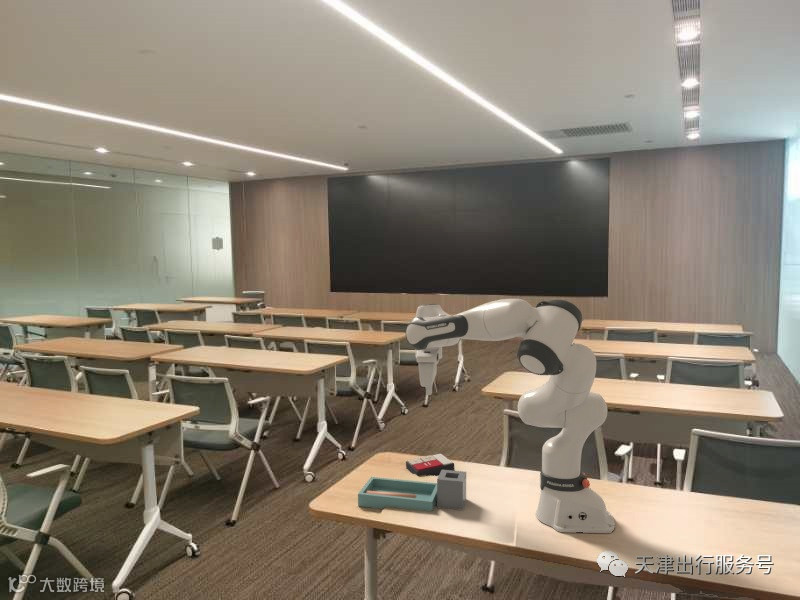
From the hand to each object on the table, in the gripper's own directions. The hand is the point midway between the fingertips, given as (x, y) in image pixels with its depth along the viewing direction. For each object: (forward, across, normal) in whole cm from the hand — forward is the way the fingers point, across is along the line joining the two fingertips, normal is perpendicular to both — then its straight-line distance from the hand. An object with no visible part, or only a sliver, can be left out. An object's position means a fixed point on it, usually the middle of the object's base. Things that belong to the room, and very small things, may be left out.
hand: (429, 394), depth 182 cm
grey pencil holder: (+34, +9, +8) cm, 36 cm away
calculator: (+34, -20, -2) cm, 40 cm away
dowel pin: (+32, +10, -4) cm, 33 cm away
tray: (+34, +7, -9) cm, 35 cm away
